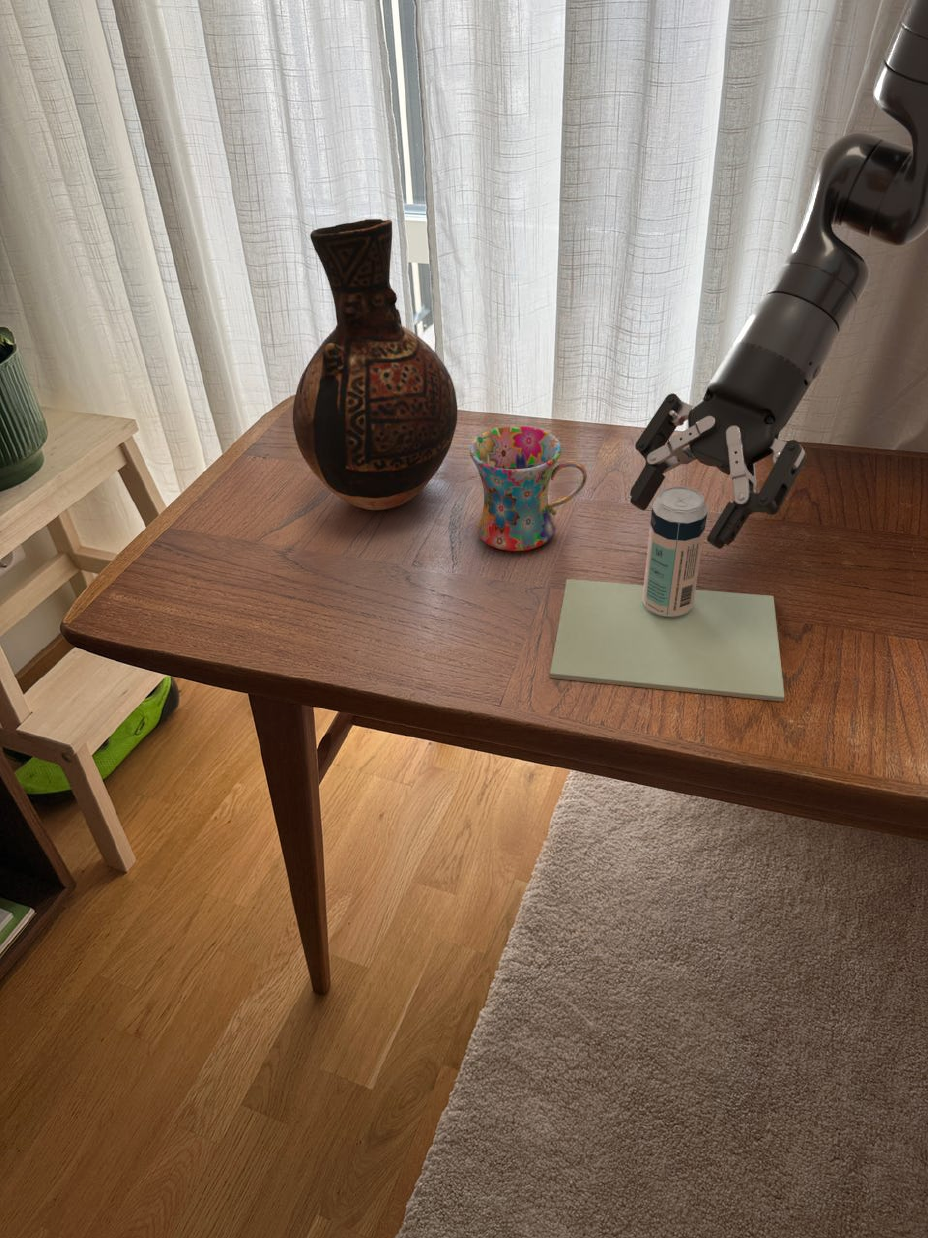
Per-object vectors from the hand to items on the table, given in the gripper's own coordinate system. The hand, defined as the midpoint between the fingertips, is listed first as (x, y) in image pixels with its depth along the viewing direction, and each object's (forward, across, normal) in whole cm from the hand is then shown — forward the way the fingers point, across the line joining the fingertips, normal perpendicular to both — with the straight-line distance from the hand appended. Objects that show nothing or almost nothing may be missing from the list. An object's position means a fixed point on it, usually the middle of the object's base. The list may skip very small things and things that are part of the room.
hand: (674, 525), depth 78 cm
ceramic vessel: (+11, -37, +4) cm, 39 cm away
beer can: (+6, 0, +8) cm, 10 cm away
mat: (+9, +2, +6) cm, 11 cm away
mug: (+7, -19, +8) cm, 22 cm away
